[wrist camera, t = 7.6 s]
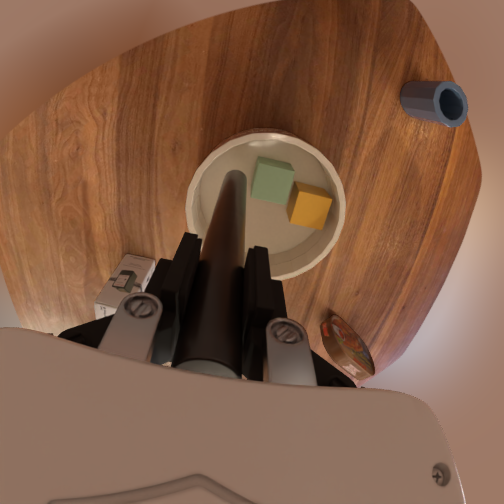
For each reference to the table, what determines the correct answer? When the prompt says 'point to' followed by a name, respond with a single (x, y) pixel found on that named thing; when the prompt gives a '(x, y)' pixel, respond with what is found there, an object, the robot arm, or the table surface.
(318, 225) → the mustard cube
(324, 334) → the tin
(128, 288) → the ink box
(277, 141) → the bowl
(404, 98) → the holder
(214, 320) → the stirring stick
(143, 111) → the table surface
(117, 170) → the table surface
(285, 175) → the sage cube
